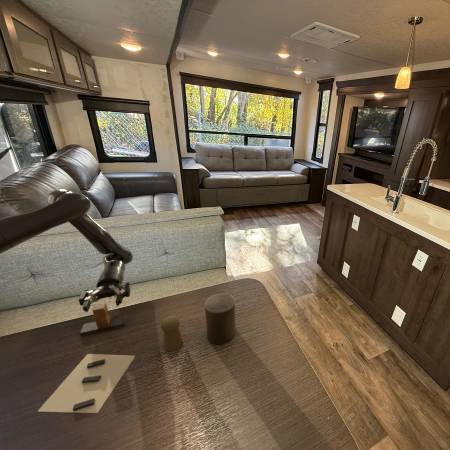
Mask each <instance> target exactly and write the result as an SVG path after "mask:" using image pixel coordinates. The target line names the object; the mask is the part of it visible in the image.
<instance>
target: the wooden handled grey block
mask: <svg viewBox="0 0 450 450" xmlns="http://www.w3.org/2000/svg"><path fill="white" fill-rule="evenodd" d="M92 314H93V317H94V321H92V322H88V323H83V325H82V327H81V329H80V331H79V334H80V337H84V336H87V335H88V336H89V335H92V334H98V333H102V332H105V331H110V330H115V329H119V328H123V327H126V326H127V322H128V321H127V320H128V316H127V315H121V316H117V317H112V318H111V316H110V313H109V309H108V305H107V302H100V303H95V304H94V305H93V307H92Z"/></svg>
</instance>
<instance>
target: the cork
mask: <svg viewBox="0 0 450 450" xmlns="http://www.w3.org/2000/svg"><path fill="white" fill-rule="evenodd" d="M179 327H180V319H179V318H178V317H177V316H175V315H170V316H167V317H165V318H164V319H163V320H162V321H161V324H160V328H161V331H162V332H163V342H162V345H163V346H162V347H163V349H164V350H165V351H168V352H173V351H175V350H177V353H178V352H179V351H181V350H182V348H183V347H184V344H185V342H184V339H183V335H182V333H181V330H180V328H179Z"/></svg>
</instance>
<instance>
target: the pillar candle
mask: <svg viewBox="0 0 450 450" xmlns="http://www.w3.org/2000/svg"><path fill="white" fill-rule="evenodd" d="M204 312H205V313H204V314H205V326H206V327H205V328H206V336H207V340H208V341H209V342H210V343H211V344H214V345H224V344H227V343H229V342H231V340H233V339H234V337H235V336H236V332H237V328H236V326H237V325H236V300H235V297H234V296H233V295H232V294H228V293H217V294H213V295H210V297H208V298H207V299H206V301H205V303H204ZM234 335H235V336H234Z"/></svg>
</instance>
